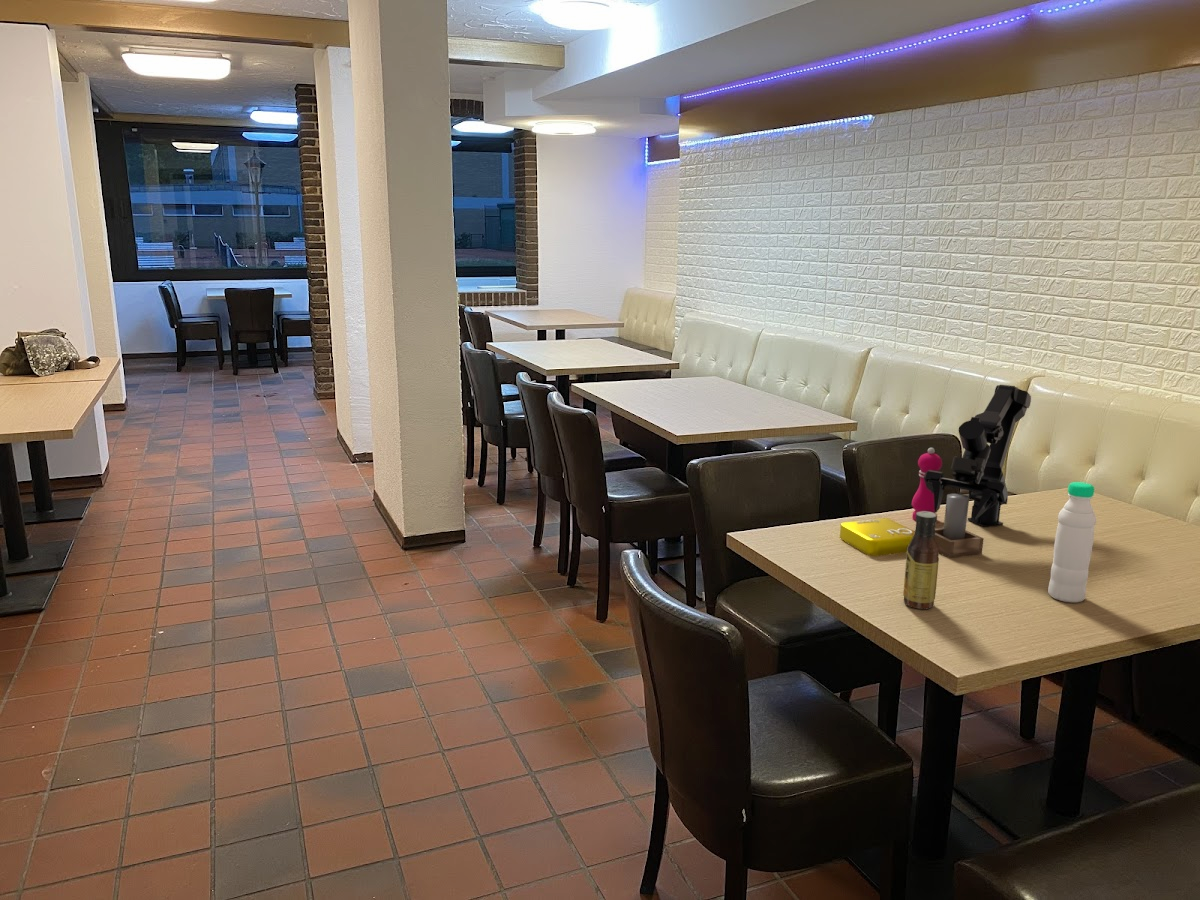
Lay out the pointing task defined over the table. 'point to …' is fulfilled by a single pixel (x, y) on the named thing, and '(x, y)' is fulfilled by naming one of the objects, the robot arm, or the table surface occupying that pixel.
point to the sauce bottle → (922, 563)
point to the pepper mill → (923, 496)
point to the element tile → (877, 536)
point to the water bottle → (1073, 545)
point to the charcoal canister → (955, 516)
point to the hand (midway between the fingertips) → (954, 515)
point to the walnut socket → (959, 544)
